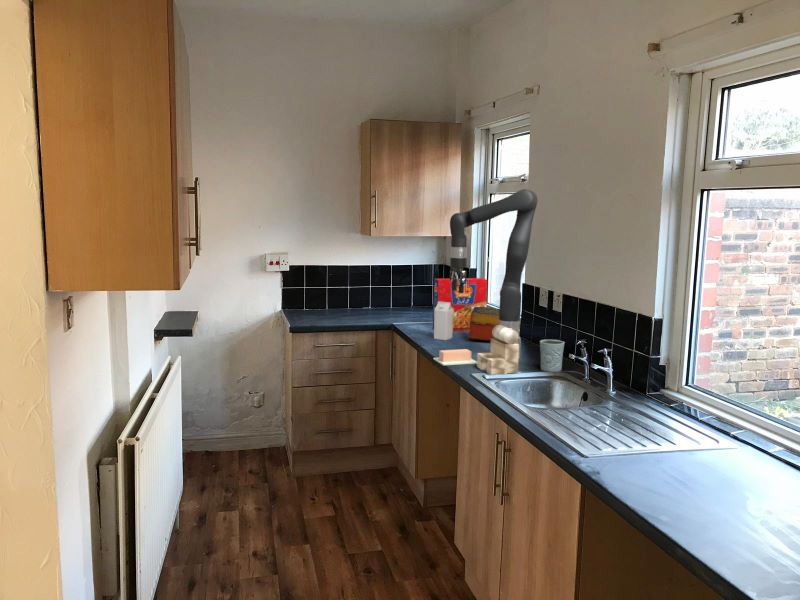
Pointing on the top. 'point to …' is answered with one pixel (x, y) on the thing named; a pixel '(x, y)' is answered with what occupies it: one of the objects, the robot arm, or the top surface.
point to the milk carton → (443, 321)
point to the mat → (455, 362)
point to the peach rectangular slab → (455, 355)
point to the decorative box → (483, 323)
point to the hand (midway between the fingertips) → (457, 291)
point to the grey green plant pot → (551, 355)
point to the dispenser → (501, 352)
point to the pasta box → (461, 299)
